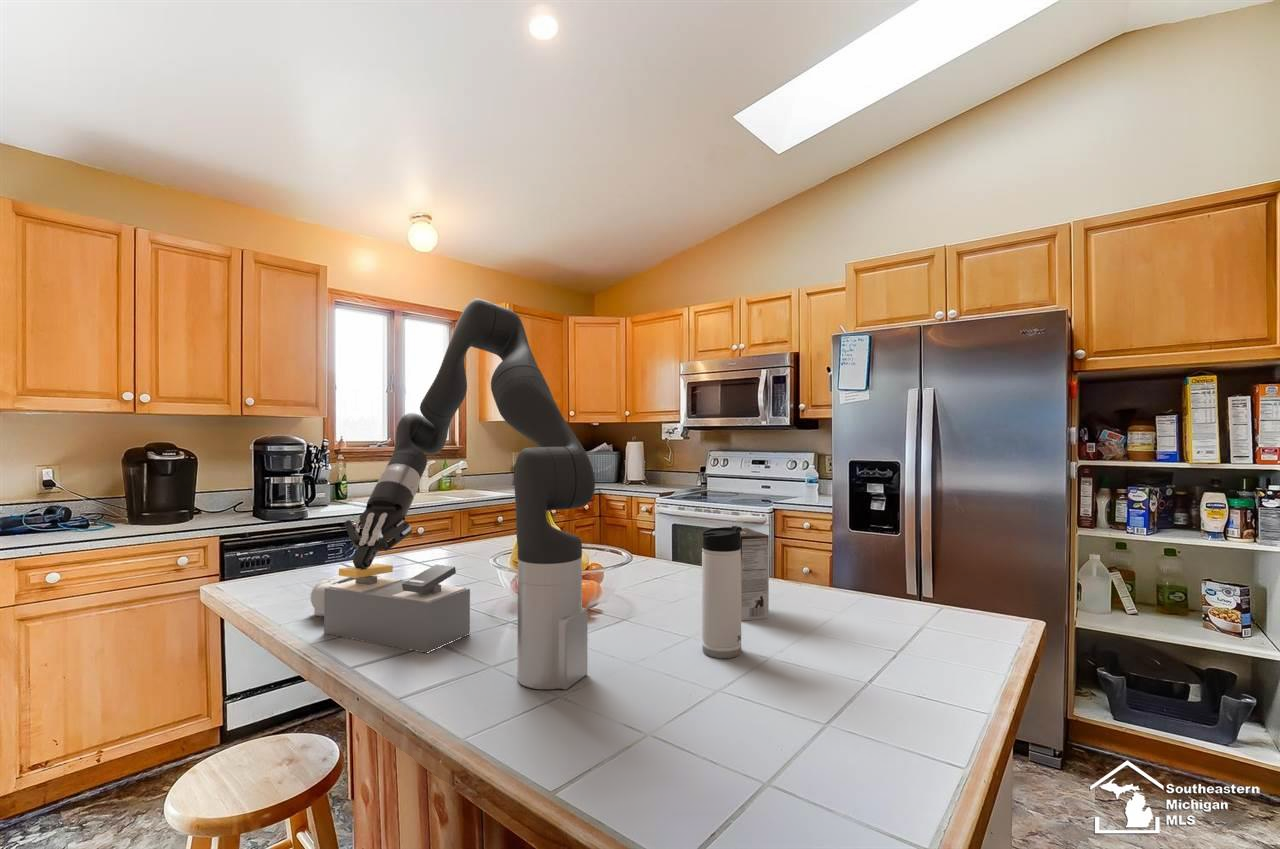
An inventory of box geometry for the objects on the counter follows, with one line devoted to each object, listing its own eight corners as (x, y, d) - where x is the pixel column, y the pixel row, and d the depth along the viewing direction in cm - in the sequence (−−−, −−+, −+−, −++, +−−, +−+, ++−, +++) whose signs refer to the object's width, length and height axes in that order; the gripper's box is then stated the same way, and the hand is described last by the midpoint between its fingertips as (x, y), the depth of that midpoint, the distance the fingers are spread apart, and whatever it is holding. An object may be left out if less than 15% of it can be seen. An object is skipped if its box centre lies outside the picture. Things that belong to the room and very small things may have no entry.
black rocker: (456, 573, 104) (454, 565, 104) (422, 593, 97) (421, 585, 97) (436, 570, 106) (435, 563, 106) (402, 590, 99) (401, 582, 98)
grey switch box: (469, 634, 104) (469, 580, 104) (427, 653, 95) (428, 594, 95) (370, 617, 114) (371, 568, 114) (323, 633, 104) (324, 580, 105)
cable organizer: (299, 585, 112) (355, 588, 110) (343, 570, 125) (394, 572, 122) (299, 620, 112) (355, 624, 110) (343, 602, 125) (394, 605, 122)
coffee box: (719, 608, 120) (718, 528, 120) (747, 605, 122) (747, 527, 122) (739, 621, 111) (739, 535, 111) (770, 618, 113) (769, 533, 113)
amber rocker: (392, 572, 110) (392, 564, 110) (356, 577, 103) (356, 570, 103) (375, 569, 112) (375, 562, 112) (338, 575, 105) (339, 567, 105)
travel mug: (750, 655, 94) (750, 529, 94) (714, 661, 91) (713, 531, 92) (730, 642, 99) (730, 523, 100) (695, 647, 97) (695, 526, 97)
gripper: (355, 479, 115) (314, 554, 102) (421, 480, 114) (388, 556, 101) (369, 503, 120) (332, 578, 108) (432, 504, 119) (402, 580, 107)
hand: (359, 567), depth 104 cm, fingers closed
